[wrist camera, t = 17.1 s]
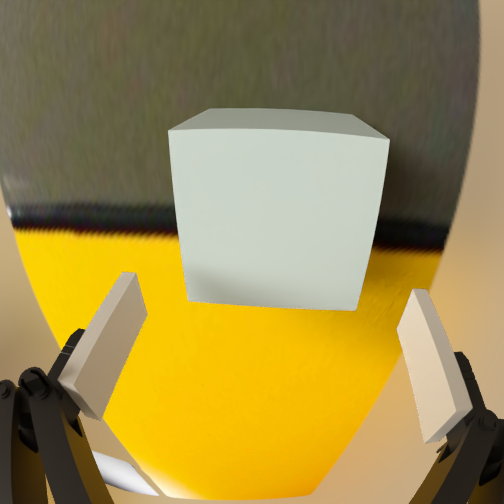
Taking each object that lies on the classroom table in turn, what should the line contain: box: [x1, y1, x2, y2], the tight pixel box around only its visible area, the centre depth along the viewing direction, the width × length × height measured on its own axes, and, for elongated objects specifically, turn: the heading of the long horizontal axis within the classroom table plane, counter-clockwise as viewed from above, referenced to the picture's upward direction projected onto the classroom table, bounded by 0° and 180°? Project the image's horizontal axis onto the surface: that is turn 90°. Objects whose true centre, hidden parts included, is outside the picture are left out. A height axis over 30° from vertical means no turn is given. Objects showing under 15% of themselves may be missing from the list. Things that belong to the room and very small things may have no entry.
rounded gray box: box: [168, 108, 390, 311], centre depth 20 cm, size 10×10×9 cm
